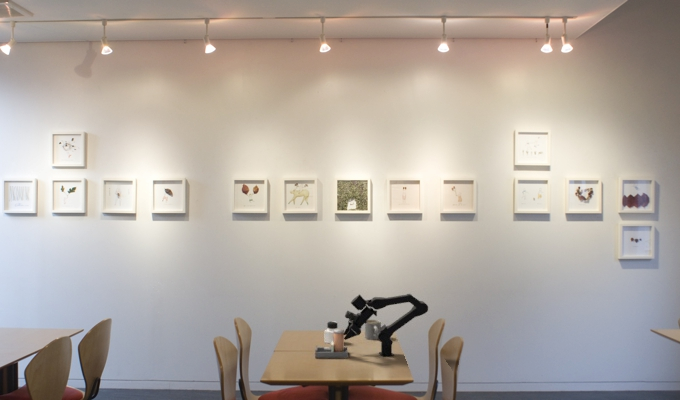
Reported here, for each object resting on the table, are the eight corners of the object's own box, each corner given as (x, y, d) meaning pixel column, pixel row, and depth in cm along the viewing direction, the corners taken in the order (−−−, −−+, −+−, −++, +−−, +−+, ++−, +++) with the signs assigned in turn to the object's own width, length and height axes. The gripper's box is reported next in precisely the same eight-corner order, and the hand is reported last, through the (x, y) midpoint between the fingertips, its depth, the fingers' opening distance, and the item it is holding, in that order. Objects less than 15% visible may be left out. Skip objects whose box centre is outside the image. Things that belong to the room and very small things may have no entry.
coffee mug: (364, 335, 295) (364, 319, 295) (380, 335, 295) (379, 319, 295) (365, 341, 282) (365, 324, 282) (382, 341, 282) (382, 324, 282)
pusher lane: (347, 352, 260) (347, 345, 261) (348, 357, 251) (348, 350, 251) (315, 352, 260) (315, 345, 260) (315, 358, 250) (315, 350, 250)
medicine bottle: (333, 344, 276) (333, 324, 276) (324, 342, 280) (324, 322, 280) (340, 341, 281) (340, 321, 282) (331, 339, 286) (331, 320, 286)
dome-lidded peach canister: (346, 353, 256) (345, 329, 257) (340, 356, 252) (340, 332, 252) (337, 352, 260) (337, 328, 260) (331, 354, 255) (331, 330, 255)
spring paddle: (333, 351, 259) (333, 341, 259) (333, 355, 252) (333, 345, 252) (324, 351, 259) (324, 341, 259) (323, 355, 252) (323, 345, 252)
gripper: (352, 302, 266) (333, 322, 265) (354, 309, 247) (333, 331, 246) (366, 316, 266) (347, 336, 265) (369, 324, 247) (349, 345, 246)
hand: (344, 336), depth 256 cm, fingers open, 9 cm apart
